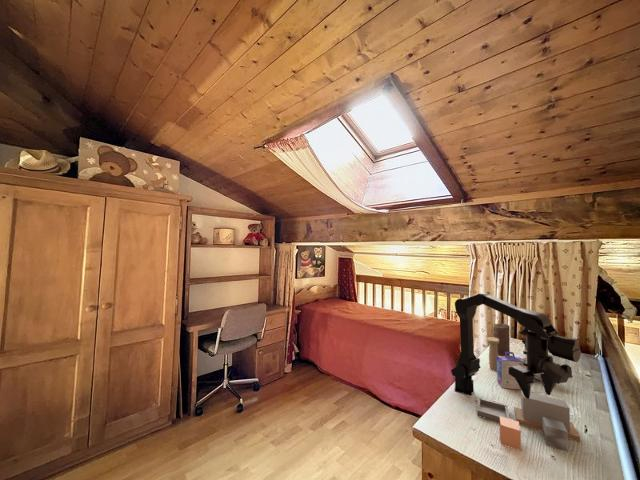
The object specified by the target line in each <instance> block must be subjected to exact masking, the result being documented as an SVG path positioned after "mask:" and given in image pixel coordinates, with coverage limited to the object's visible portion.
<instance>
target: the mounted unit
mask: <svg viewBox="0 0 640 480" xmlns="http://www.w3.org/2000/svg"><path fill="white" fill-rule="evenodd" d="M520 393H521V394H520V399H521V401H520V402H521V404H520V407H521V408H519V407H515V406H514V407H513V409H514V411H513V412H514V415H515V421H519V425H521V426H525V427H528V428H531V429H535V430H538V431H541V432H543V425H542V417H545V418H549V419H552V420H556V421H560V422H563V424H564V426H565V428H566V430H567V435H568V439H569V440H572V441H576V442H579V443H581V436H580V434H579V432H578V431H577V429H576V427H575V425H574V423H573V422H572V421H571V419H570V418H571V416H570V411H571V410H570V406H569V405H568V403H567V402H566V400H564V399H560V398H555V397H551V396H548V395H543V394H538V393H535V392H531V391H530V397H529V399H527V398H526V397H525V396H524V394H523V392H522V390H520Z"/></svg>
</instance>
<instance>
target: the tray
mask: <svg viewBox="0 0 640 480" xmlns="http://www.w3.org/2000/svg"><path fill="white" fill-rule="evenodd" d="M476 404H477V406H476V407H477V409H476V411H477V413H476V415H478V416H477V417H479V416H481V417H480V418H483V417H485V418H484V419H486V420H490V421H493V422H496V423H499V424H500V416H502V417H505V418H509V419H511V417H510V413H509V408H508V407H509V406H508V404H504V403H500V402H497V401H492V400H490V399H489V400H488V399H486V398H481V397H478V396H477V403H476Z"/></svg>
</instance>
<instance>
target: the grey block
mask: <svg viewBox="0 0 640 480" xmlns="http://www.w3.org/2000/svg"><path fill="white" fill-rule="evenodd" d="M542 425H543V431H542V437H543V440H544V443H545V446H547V447H551V448H552V449H553V448H554V449H557V450H560V451H563V452H566V453H567V452H568V451H569V449H568V448H569V446H568V445H569V444H568V441H569V440H568V439H569V438H568V435H567V430H566V428H565V426H564V424H563V422H560V421H556V420H552V419H549V418H545V417H542Z"/></svg>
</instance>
